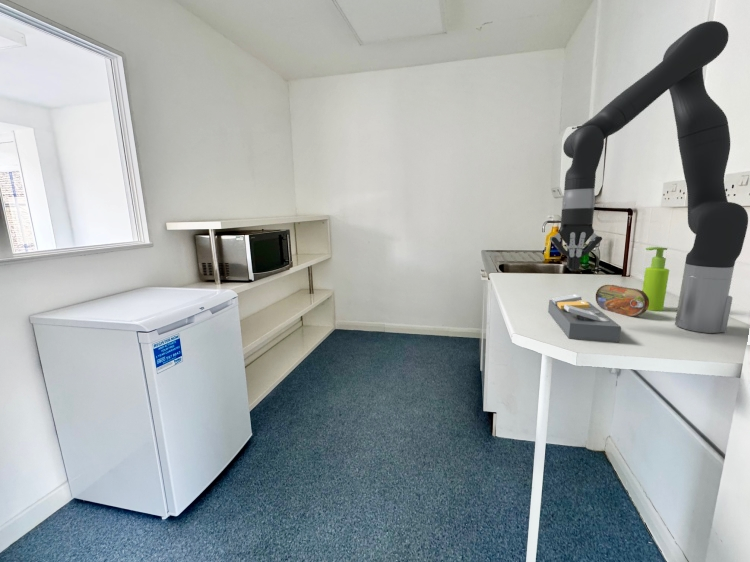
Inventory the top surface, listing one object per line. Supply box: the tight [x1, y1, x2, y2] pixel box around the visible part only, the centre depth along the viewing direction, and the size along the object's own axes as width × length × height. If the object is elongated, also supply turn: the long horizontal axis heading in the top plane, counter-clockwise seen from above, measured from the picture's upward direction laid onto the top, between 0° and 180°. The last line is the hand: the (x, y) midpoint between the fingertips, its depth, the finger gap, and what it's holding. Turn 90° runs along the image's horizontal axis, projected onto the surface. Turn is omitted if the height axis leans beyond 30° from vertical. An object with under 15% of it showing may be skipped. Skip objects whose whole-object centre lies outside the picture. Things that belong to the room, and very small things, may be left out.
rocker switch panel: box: [547, 299, 622, 343], centre depth 95 cm, size 11×24×5 cm, turn 165°
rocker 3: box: [564, 304, 598, 320], centre depth 89 cm, size 7×4×1 cm, turn 75°
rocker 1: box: [551, 293, 583, 305], centre depth 102 cm, size 7×4×1 cm, turn 75°
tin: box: [595, 284, 649, 317], centre depth 107 cm, size 15×3×8 cm, turn 20°
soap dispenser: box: [641, 246, 670, 312], centre depth 109 cm, size 6×7×20 cm
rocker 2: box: [557, 300, 590, 309], centre depth 95 cm, size 7×4×1 cm, turn 75°
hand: (572, 270), depth 96 cm, fingers closed
